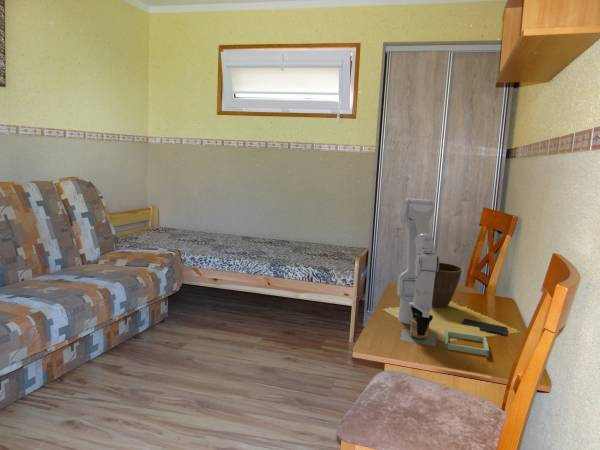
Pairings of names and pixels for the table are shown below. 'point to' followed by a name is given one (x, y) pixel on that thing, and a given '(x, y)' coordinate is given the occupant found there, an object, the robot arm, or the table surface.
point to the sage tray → (466, 348)
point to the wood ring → (414, 329)
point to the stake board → (409, 338)
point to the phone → (486, 327)
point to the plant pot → (445, 284)
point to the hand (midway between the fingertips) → (419, 331)
